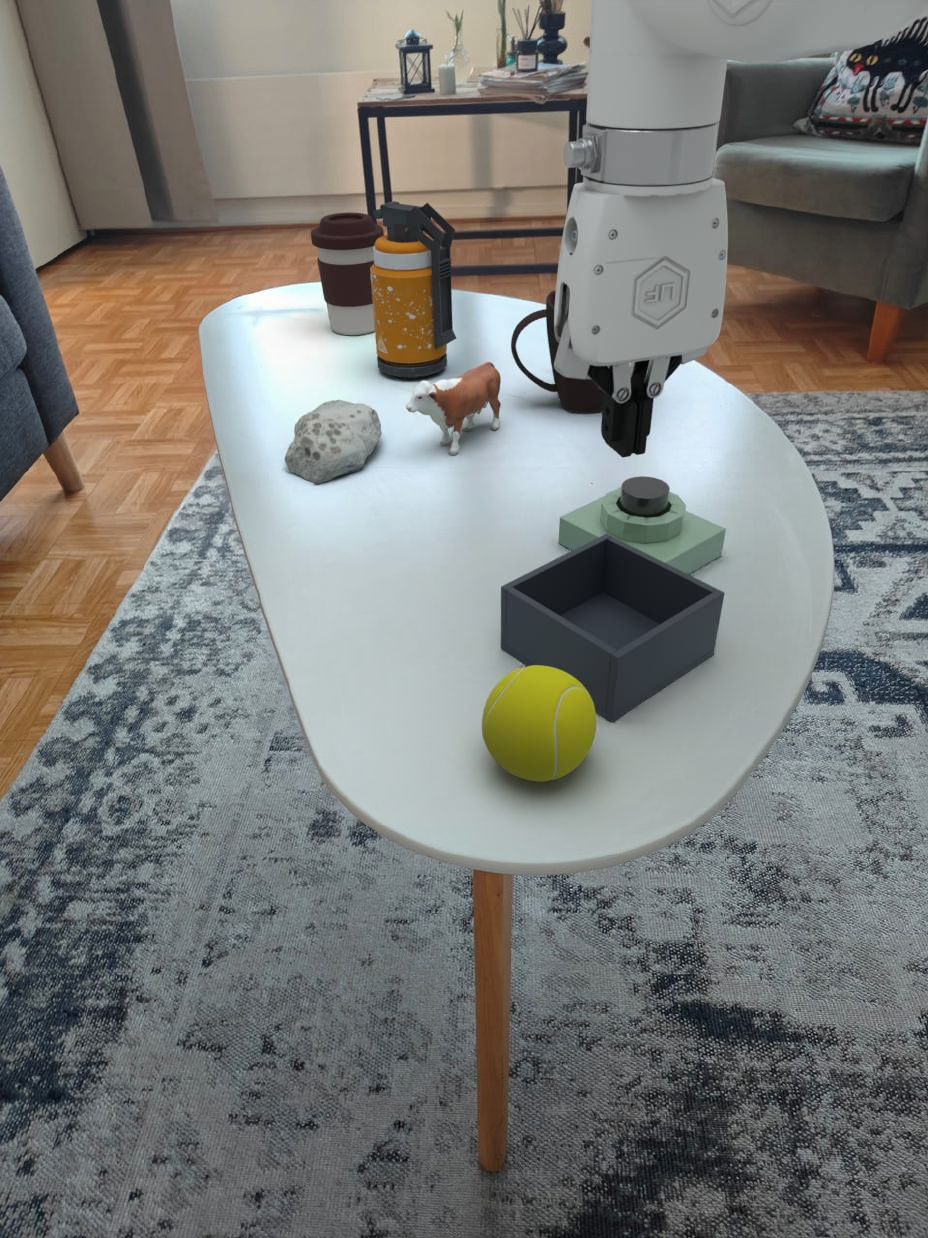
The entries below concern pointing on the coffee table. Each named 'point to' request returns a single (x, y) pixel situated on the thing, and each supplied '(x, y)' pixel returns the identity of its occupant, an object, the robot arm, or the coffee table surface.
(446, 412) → the bull figurine
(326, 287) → the coffee cup
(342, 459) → the decorative stone
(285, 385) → the coffee table surface
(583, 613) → the bin
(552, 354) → the mug
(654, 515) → the button top
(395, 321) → the canister
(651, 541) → the push button base
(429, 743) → the coffee table surface
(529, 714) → the tennis ball
